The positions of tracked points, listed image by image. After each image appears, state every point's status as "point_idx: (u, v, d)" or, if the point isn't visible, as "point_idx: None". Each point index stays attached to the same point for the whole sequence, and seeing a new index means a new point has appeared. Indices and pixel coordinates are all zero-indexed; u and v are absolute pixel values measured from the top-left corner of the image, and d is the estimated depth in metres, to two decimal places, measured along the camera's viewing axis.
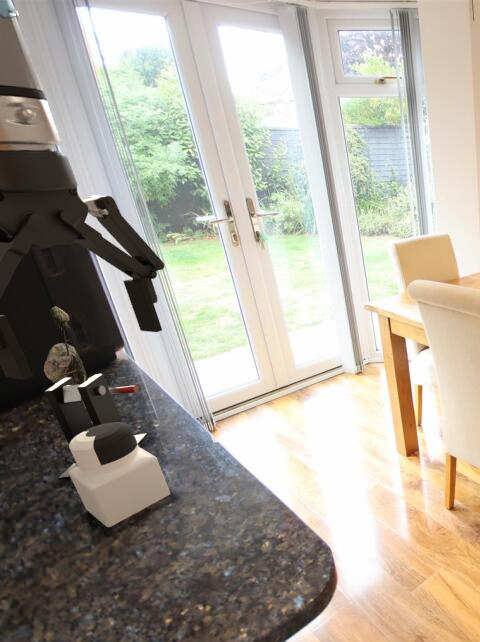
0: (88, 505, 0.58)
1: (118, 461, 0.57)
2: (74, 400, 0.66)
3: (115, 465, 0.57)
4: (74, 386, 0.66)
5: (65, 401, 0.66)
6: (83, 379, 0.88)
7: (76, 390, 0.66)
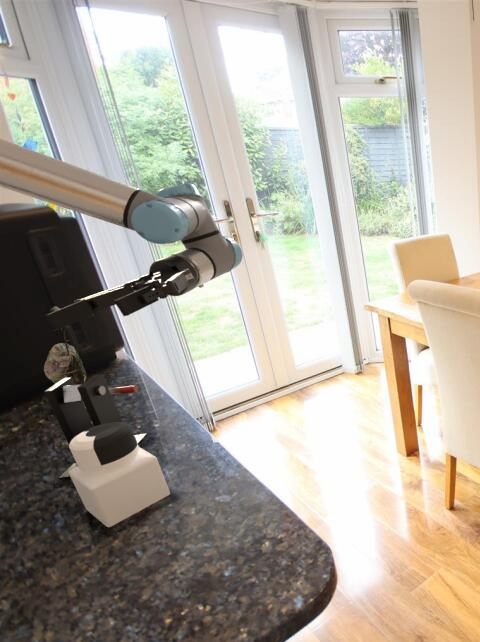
0: (88, 505, 0.58)
1: (118, 461, 0.57)
2: (74, 400, 0.66)
3: (115, 465, 0.57)
4: (74, 386, 0.66)
5: (65, 401, 0.66)
6: (83, 379, 0.88)
7: (76, 390, 0.66)
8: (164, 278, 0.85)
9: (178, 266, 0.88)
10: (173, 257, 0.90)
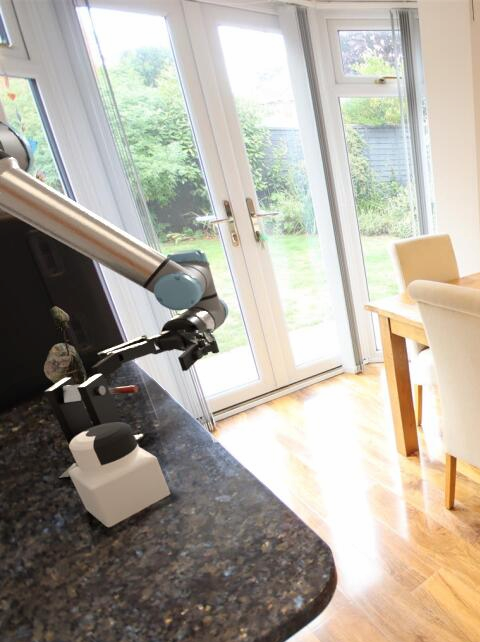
0: (88, 505, 0.58)
1: (118, 461, 0.57)
2: (74, 400, 0.66)
3: (115, 465, 0.57)
4: (74, 386, 0.66)
5: (65, 401, 0.66)
6: (83, 379, 0.88)
7: (76, 390, 0.66)
8: None
9: (196, 324, 0.99)
10: (189, 316, 0.99)
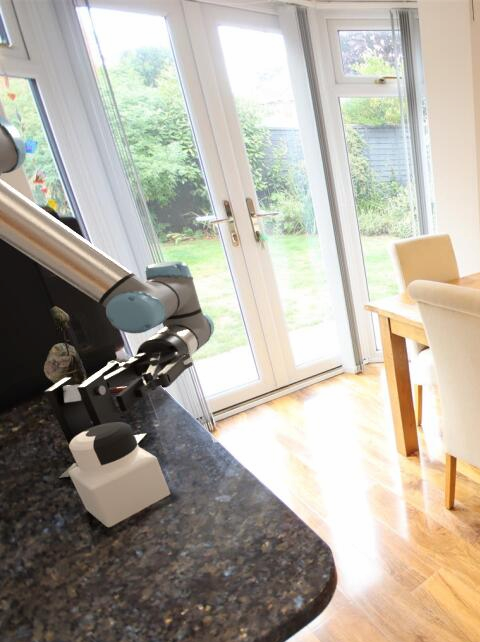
0: (88, 505, 0.58)
1: (118, 461, 0.57)
2: (74, 400, 0.66)
3: (115, 465, 0.57)
4: (74, 386, 0.66)
5: (65, 401, 0.66)
6: (83, 379, 0.88)
7: (76, 390, 0.66)
8: (161, 361, 0.85)
9: (176, 345, 0.89)
10: (168, 336, 0.90)
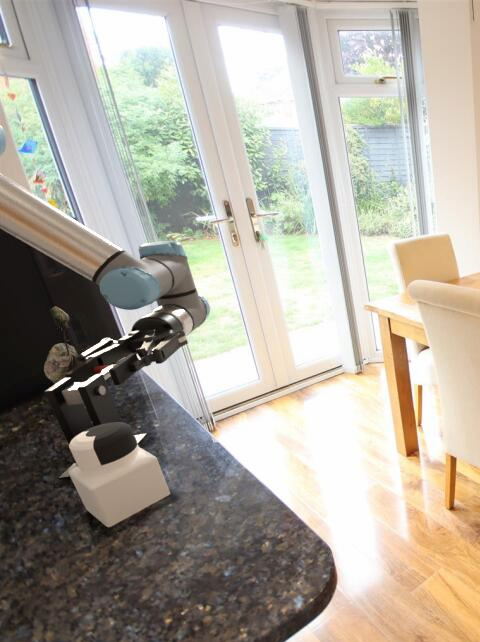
0: (88, 505, 0.58)
1: (118, 461, 0.57)
2: (77, 403, 0.67)
3: (115, 465, 0.57)
4: (73, 391, 0.66)
5: (68, 404, 0.66)
6: None
7: (76, 394, 0.66)
8: (156, 338, 0.84)
9: (170, 324, 0.89)
10: (162, 314, 0.89)
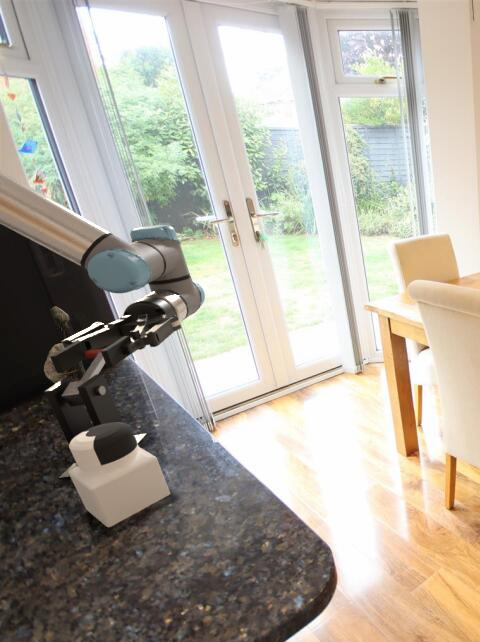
0: (88, 505, 0.58)
1: (118, 461, 0.57)
2: (80, 404, 0.67)
3: (115, 465, 0.57)
4: (73, 395, 0.66)
5: (71, 405, 0.67)
6: None
7: (77, 397, 0.66)
8: (149, 322, 0.83)
9: (163, 308, 0.87)
10: (155, 299, 0.87)
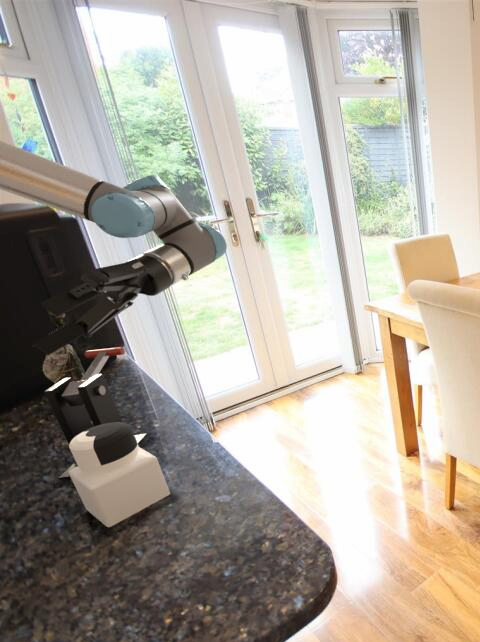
0: (88, 505, 0.58)
1: (118, 461, 0.57)
2: (80, 404, 0.67)
3: (115, 465, 0.57)
4: (73, 395, 0.66)
5: (71, 405, 0.67)
6: (81, 377, 0.88)
7: (77, 397, 0.66)
8: None
9: None
10: (135, 257, 0.88)
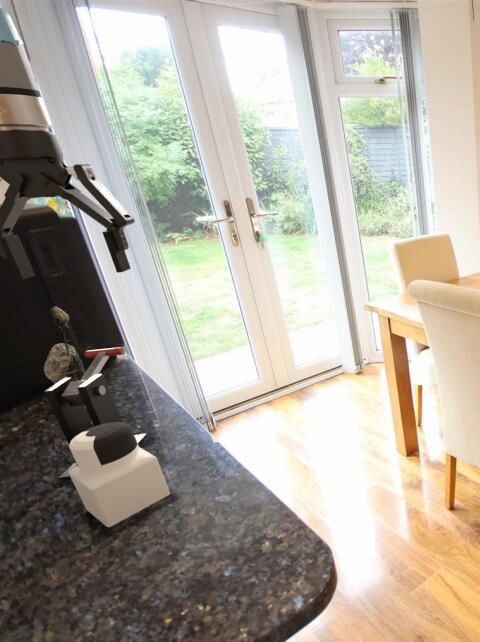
0: (88, 505, 0.58)
1: (118, 461, 0.57)
2: (80, 404, 0.67)
3: (115, 465, 0.57)
4: (73, 395, 0.66)
5: (71, 405, 0.67)
6: None
7: (77, 397, 0.66)
8: None
9: None
10: None
